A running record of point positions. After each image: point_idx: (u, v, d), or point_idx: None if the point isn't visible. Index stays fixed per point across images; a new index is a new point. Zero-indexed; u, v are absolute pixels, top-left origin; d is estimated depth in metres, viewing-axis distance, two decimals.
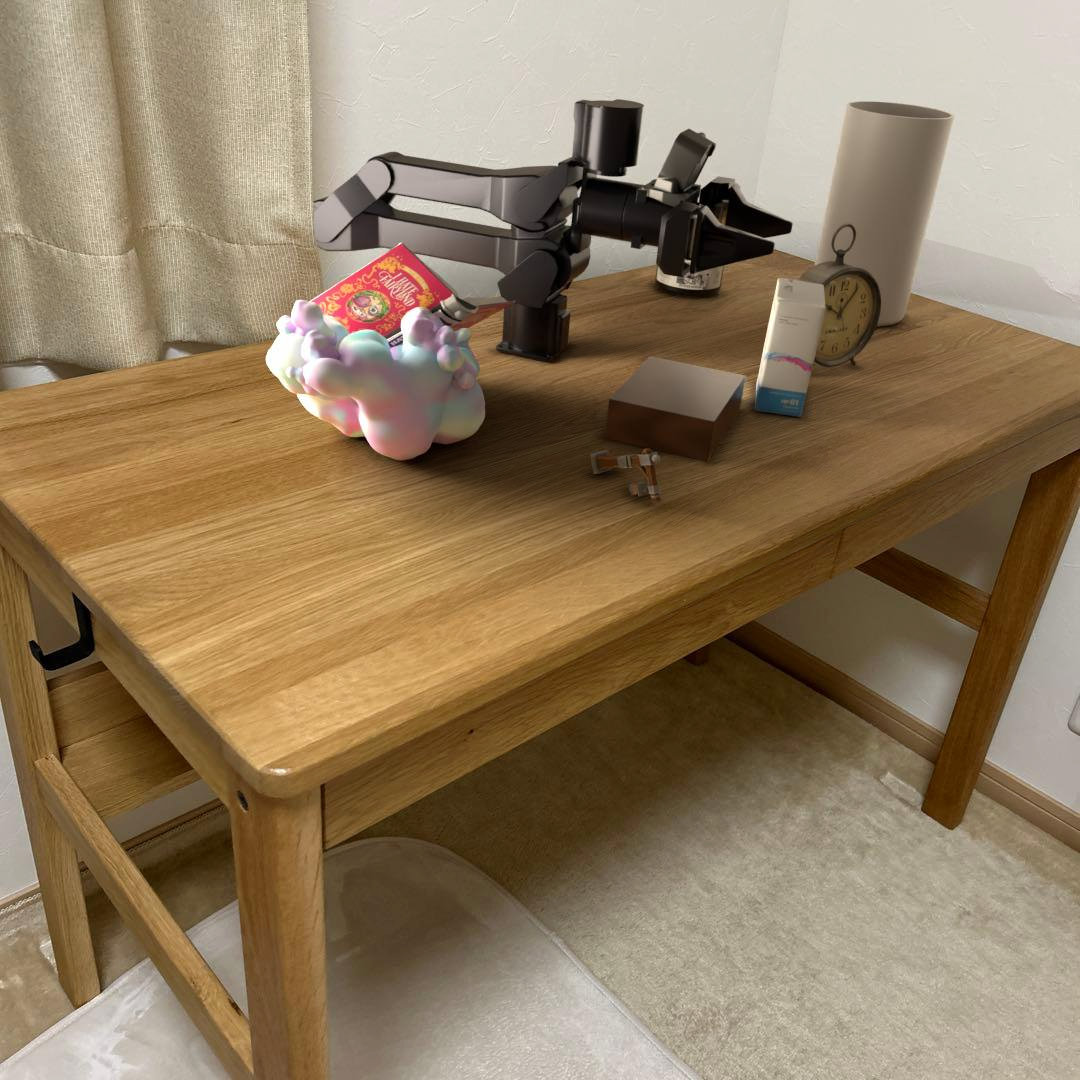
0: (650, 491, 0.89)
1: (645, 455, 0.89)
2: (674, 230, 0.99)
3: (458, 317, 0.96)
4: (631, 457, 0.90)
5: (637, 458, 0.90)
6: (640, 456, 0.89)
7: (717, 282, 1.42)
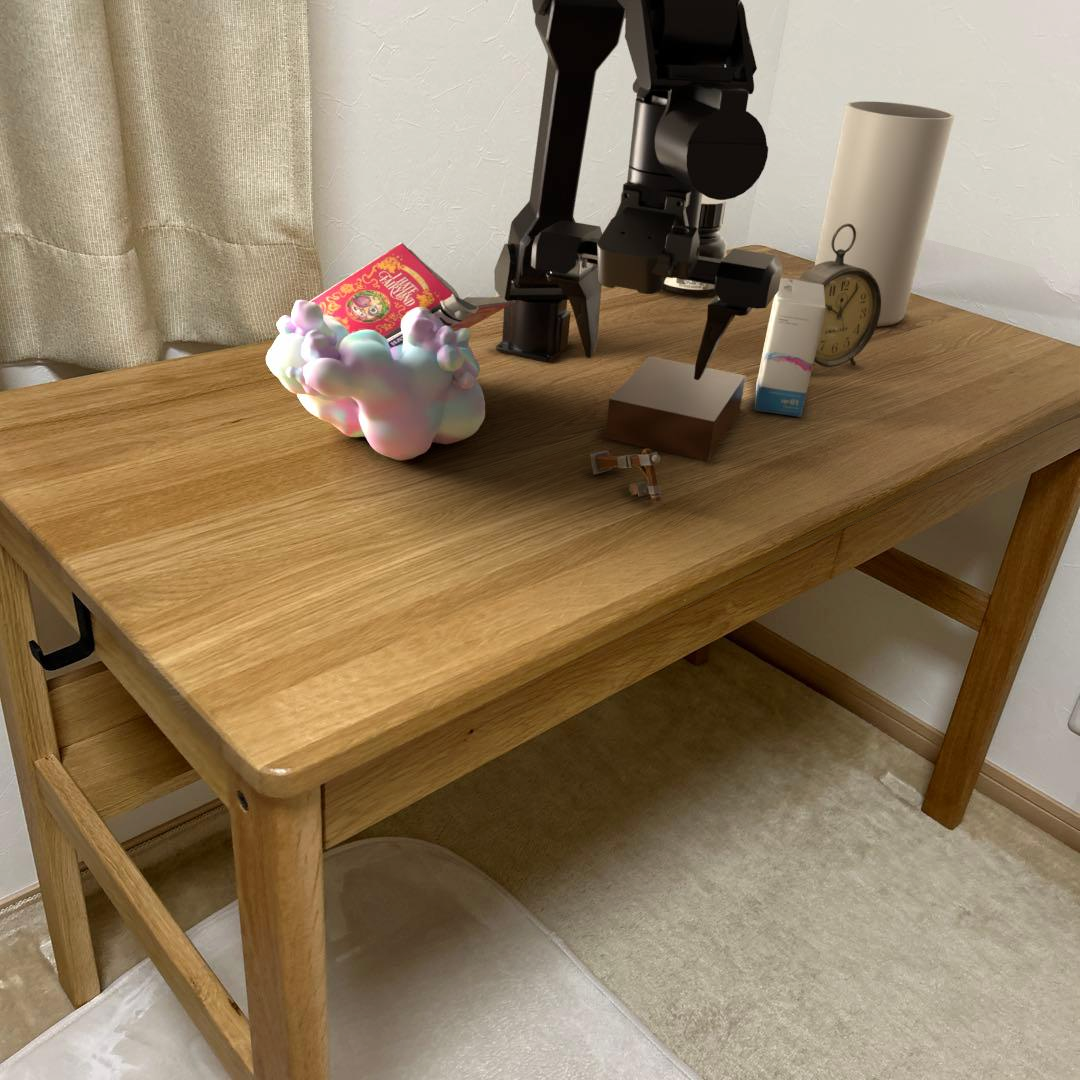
0: (650, 491, 0.89)
1: (645, 455, 0.89)
2: None
3: (458, 317, 0.96)
4: (631, 457, 0.90)
5: (637, 458, 0.90)
6: (640, 456, 0.89)
7: None
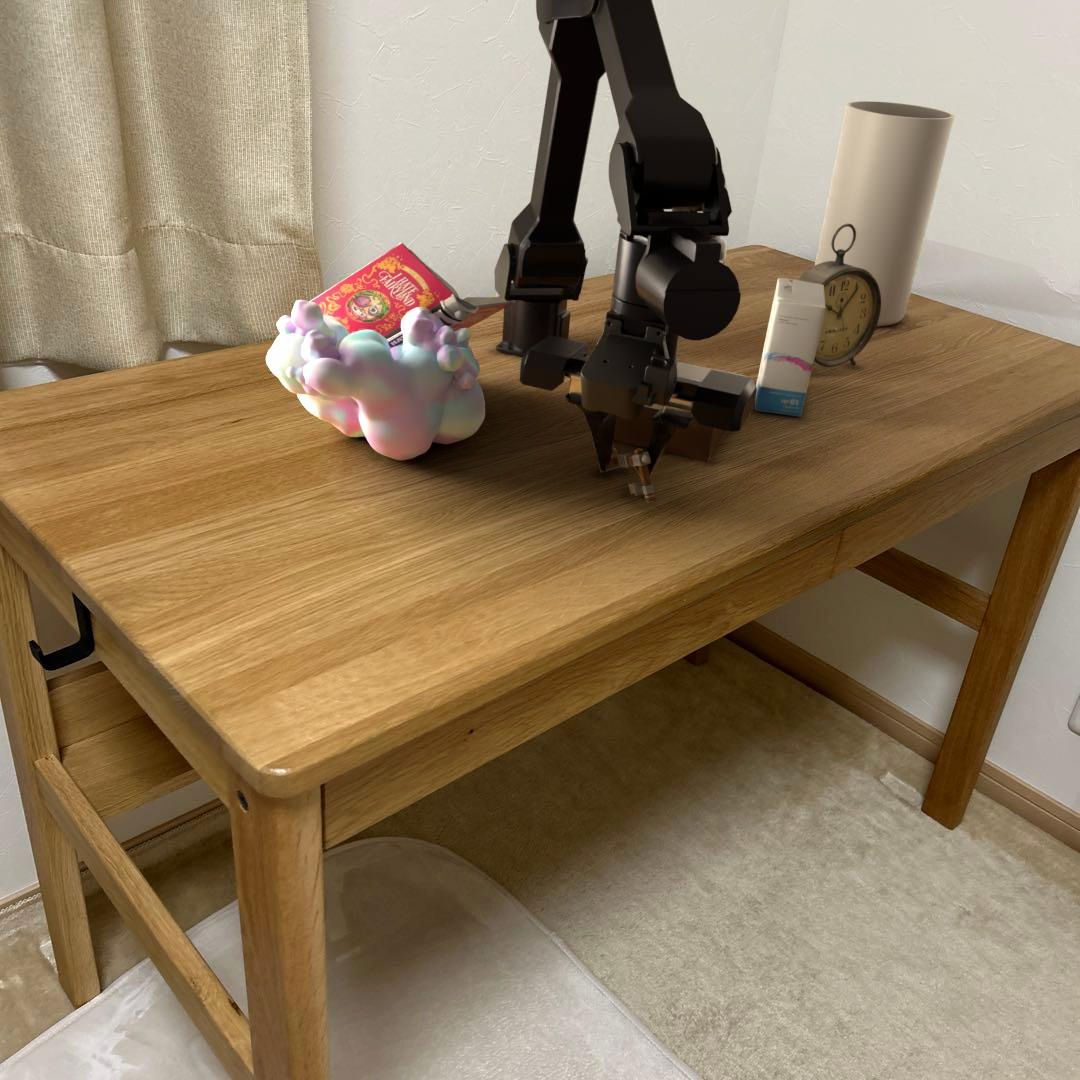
0: (644, 491, 0.89)
1: (636, 455, 0.88)
2: None
3: (458, 317, 0.96)
4: (627, 457, 0.90)
5: (631, 458, 0.89)
6: (633, 456, 0.89)
7: None
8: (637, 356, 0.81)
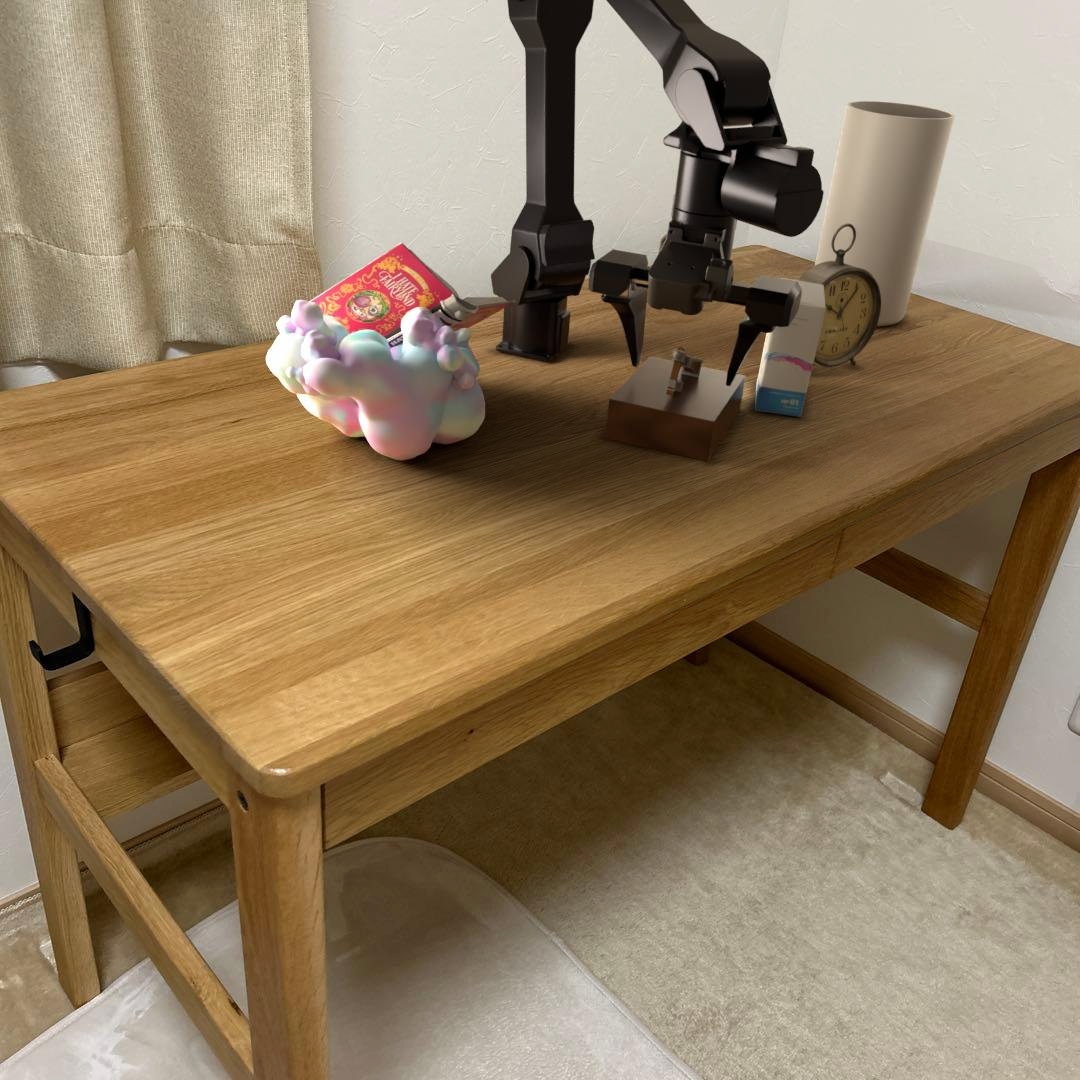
0: (668, 383, 1.00)
1: (675, 351, 0.99)
2: None
3: (458, 317, 0.96)
4: None
5: None
6: None
7: None
8: (698, 259, 0.92)
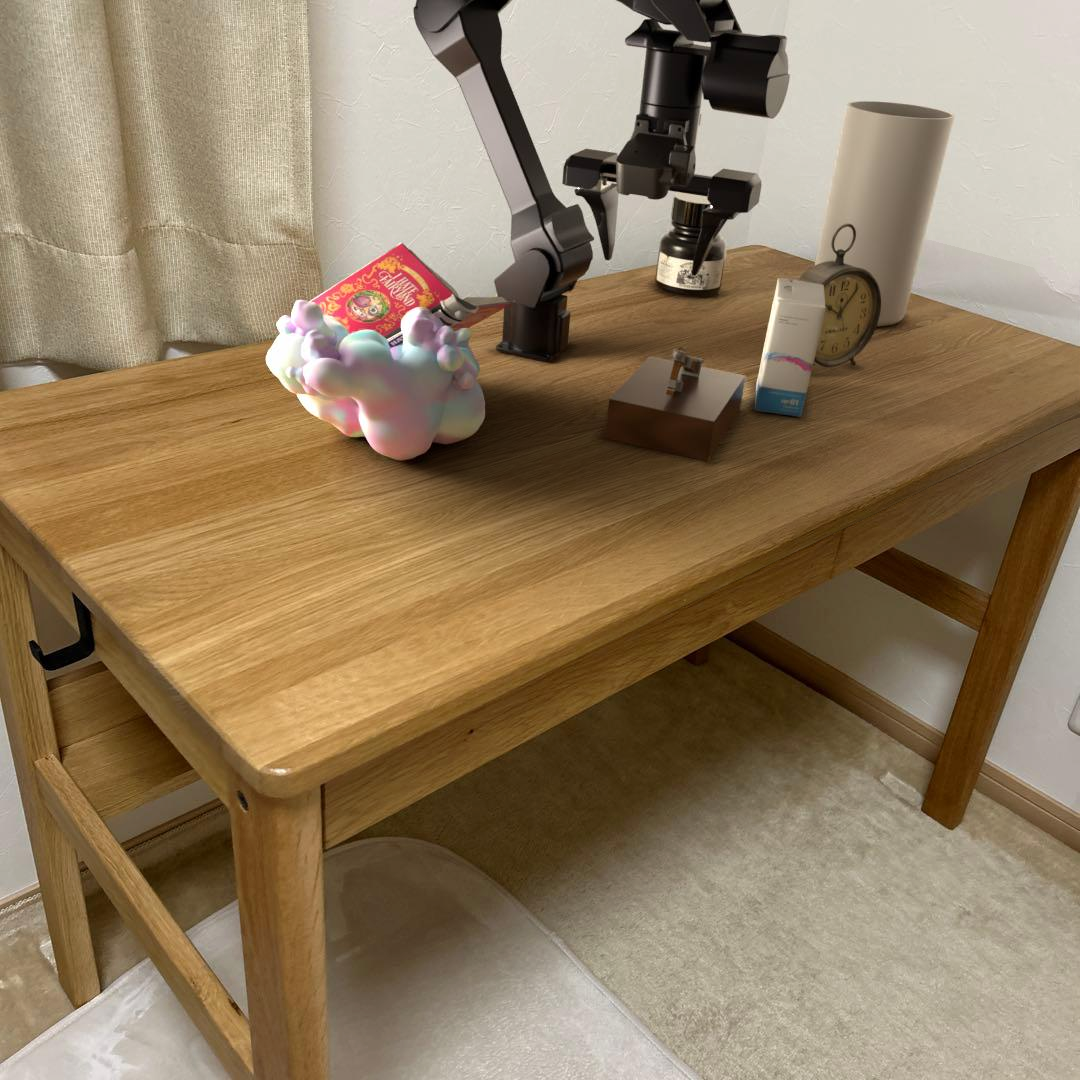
0: (668, 384, 1.00)
1: (675, 351, 0.99)
2: None
3: (458, 317, 0.96)
4: None
5: None
6: None
7: (717, 282, 1.42)
8: (662, 147, 0.98)
